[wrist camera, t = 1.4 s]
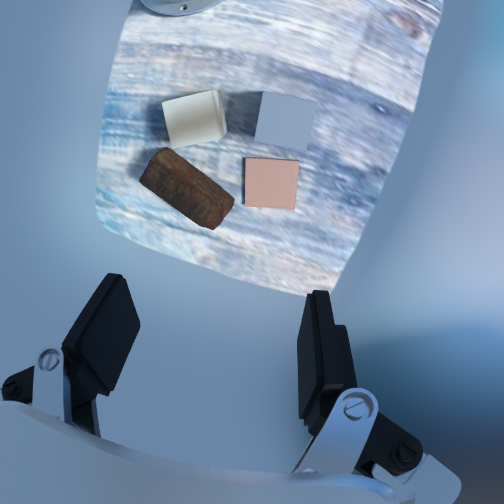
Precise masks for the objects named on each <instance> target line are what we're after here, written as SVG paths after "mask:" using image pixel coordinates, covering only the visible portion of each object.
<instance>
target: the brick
mask: <svg viewBox="0 0 504 504" xmlns="http://www.w3.org/2000/svg"><path fill="white" fill-rule="evenodd" d="M139 182H140V183H141V184H142V185H143V186H145V187H146V188H148V189H149V190H151V191H152V192H153V193H155V194H156V195H157V196H159V197H160V198H162V199H163V200H164V201H166V202H167V203H168V204H170V205H171V206H172V207H174V208H175V209H177V210H178V211H180V212H181V213H182V214H183V215H185V216H186V217H188V218H189V219H191V220H192V221H193V222H195V223H196V224H198V225H199V226H201V227H206V228H209V229H211V230H214V229H215V228H216V227H217V226H219V225H220V224H221V222H222V221H223V219H224V217H225V216H226V215H227V214H228V213H229V211H230V210H231V208H232V207H233V205H234V201H235V199H234V198H233V197H232V196H231V195H230V194H229V193H228V192H226V191H225V190H224V189H223V188H222V187H221V186H219V185H218V184H217V183H215V182H214V181H213V180H212V179H210V178H209V177H208V176H206V175H205V174H204V173H202V172H201V171H199V170H198V169H197V168H195V167H194V166H193V165H192V164H190V163H189V162H188V161H186V160H185V159H184V158H182V157H181V156H179V155H178V154H176V153H175V152H174V151H173V150H171V149H170V148H167V147H166V148H165V149H163V150H162V151H160V152H158V153H156V155H154V156H153V158H152V159H151V160H150V162H149V164H148V166H147V168H146V169H145V171H144V173H143V175H142V176H141V178H140V179H139Z"/></svg>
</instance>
